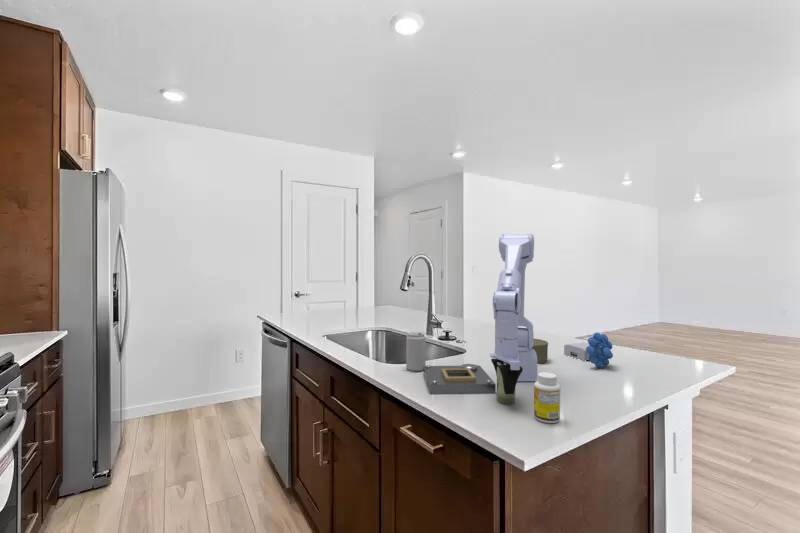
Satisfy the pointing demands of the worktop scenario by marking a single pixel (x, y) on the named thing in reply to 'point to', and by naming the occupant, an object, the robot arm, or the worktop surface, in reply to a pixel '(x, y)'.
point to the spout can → (501, 396)
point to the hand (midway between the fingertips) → (506, 390)
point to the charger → (577, 351)
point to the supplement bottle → (547, 398)
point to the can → (540, 350)
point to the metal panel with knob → (458, 379)
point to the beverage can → (415, 351)
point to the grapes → (599, 350)
